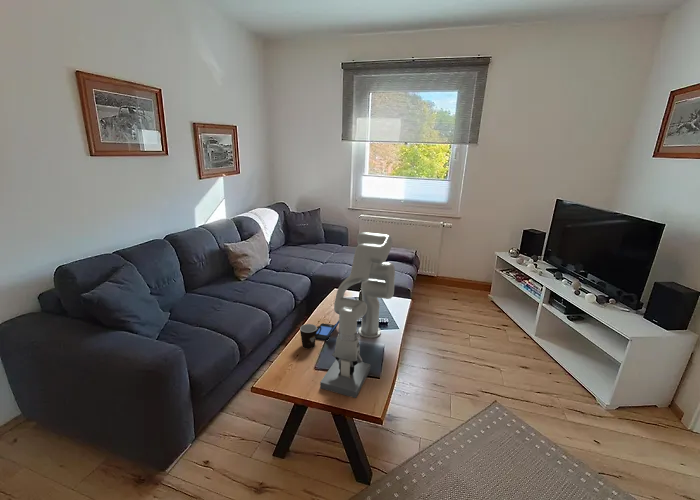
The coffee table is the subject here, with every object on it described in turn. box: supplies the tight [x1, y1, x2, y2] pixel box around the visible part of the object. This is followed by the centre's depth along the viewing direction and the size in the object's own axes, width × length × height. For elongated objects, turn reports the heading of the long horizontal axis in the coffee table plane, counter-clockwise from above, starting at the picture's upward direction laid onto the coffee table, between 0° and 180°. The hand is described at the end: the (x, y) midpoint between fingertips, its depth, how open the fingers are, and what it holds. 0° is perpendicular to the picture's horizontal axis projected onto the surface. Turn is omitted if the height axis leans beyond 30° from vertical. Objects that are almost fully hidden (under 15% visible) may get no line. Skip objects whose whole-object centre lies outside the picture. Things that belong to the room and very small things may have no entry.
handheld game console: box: [316, 319, 339, 342], centre depth 182 cm, size 16×13×9 cm
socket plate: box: [319, 359, 371, 399], centre depth 147 cm, size 20×16×3 cm
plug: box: [341, 359, 351, 378], centre depth 145 cm, size 4×4×8 cm
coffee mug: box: [299, 323, 321, 350], centre depth 170 cm, size 12×9×10 cm
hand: (346, 371), depth 146 cm, fingers closed on plug, 3 cm apart
